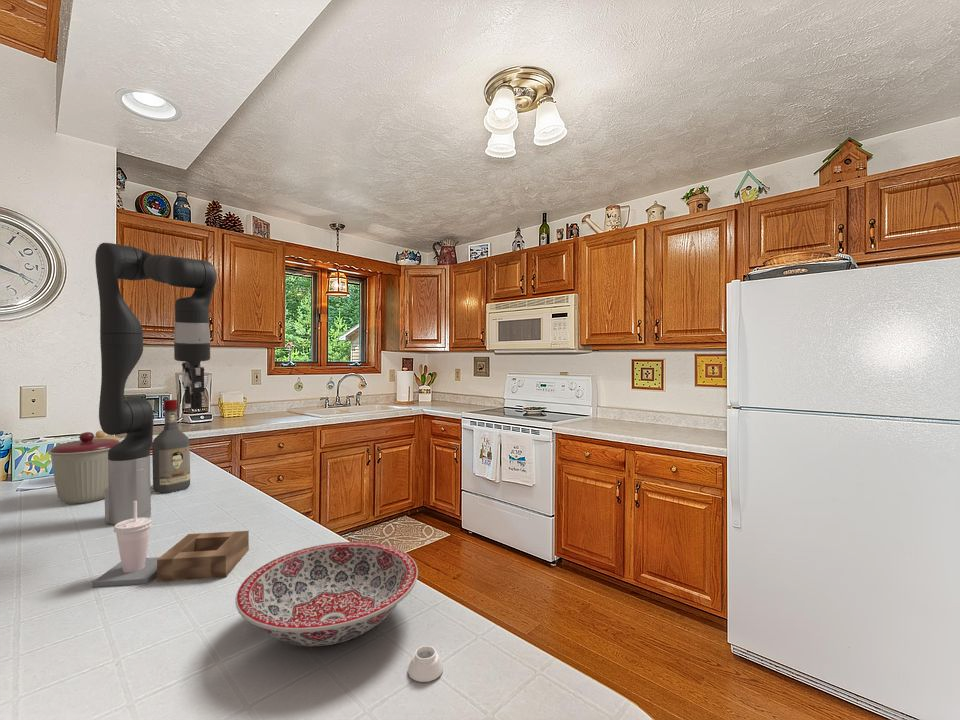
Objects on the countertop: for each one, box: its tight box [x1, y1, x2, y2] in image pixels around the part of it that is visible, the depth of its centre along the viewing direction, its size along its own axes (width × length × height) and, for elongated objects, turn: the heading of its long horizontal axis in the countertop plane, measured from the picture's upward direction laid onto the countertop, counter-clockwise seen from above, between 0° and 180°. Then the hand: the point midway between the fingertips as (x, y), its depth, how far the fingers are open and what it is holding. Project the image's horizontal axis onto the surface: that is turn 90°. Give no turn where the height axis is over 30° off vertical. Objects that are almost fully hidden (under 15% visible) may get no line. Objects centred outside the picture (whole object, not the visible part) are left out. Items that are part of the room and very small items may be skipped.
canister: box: [46, 431, 121, 505], centre depth 144 cm, size 18×18×21 cm
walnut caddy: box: [156, 530, 250, 582], centre depth 100 cm, size 13×13×4 cm
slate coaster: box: [91, 556, 161, 588], centre depth 96 cm, size 10×10×1 cm
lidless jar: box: [407, 645, 444, 683], centre depth 67 cm, size 5×3×5 cm
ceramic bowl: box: [234, 541, 419, 647], centre depth 78 cm, size 29×29×8 cm
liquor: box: [151, 399, 191, 494], centre depth 154 cm, size 9×9×30 cm
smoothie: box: [113, 501, 153, 573], centre depth 96 cm, size 6×6×14 cm
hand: (193, 406), depth 114 cm, fingers open, 8 cm apart
